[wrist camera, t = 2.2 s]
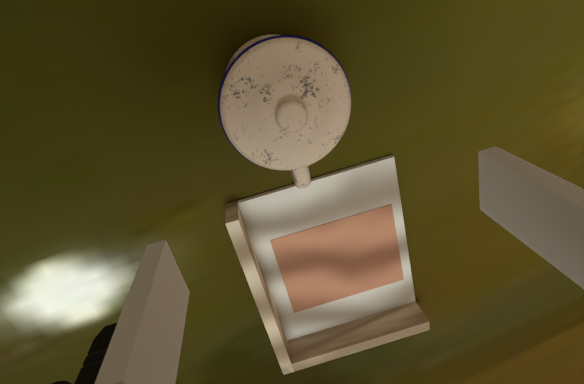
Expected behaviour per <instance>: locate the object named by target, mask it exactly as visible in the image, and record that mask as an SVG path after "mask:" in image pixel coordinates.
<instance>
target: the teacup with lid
mask: <svg viewBox="0 0 584 384" xmlns="http://www.w3.org/2000/svg"><path fill="white" fill-rule="evenodd" d="M350 112H351V90H350V86H349V82H348V79H347V76H346V74H345V71H344V70H343V68H342V66H341V64H340V63H339V62H338V60H337V59H336V58H335V57H334V56H333V54H332V53H330V52H329V51H328V50H327V49H326V48H324V47H323V46H322V45H320V44H318V43H317V42H315V41H312V40H310V39H307V38H304V37H300V36H295V35H277V34H270V35H263V36H259V37H256V38H254V39H252V40H250V41H248V42H247V43H245V44H244V45H243V46H241V47H240V48H239V49H238V50H237V51H236V53H235V54H234V55H233V57H232V58H231V60H230V62H229V64H228V66H227V69H226V72H225V75H224V77H223V79H222V82H221V85H220V90H219V96H218V113H219V118H220V122H221V126H222V128H223V131H224V133H225V135H226V137H227V138H228V140H229V142H230V143H231V144H232V146H233V147H234V148H235V149H236V150H237V151H238V152H239V153H240V154H241V155H242V156H243V157H245V158H246V159H248V160H249V161H251V162H253V163H255V164H257V165H259V166H262V167H265V168H269V169H274V170H291V174H292V177H293V180H294V182H295V185H296V187H298V188H300V189H301V188H305V187H308V186H309V185H310V183H311V179H310V173H309V169H308V165H311V164H313V163H315V162H317V161H319V160H320V159H321V158H323V157H324V156H325V155H327V154H328V153H329V152H330V151H331V150H332V149H333V148H334V147H335V146H336V144H337V143H338V142H339V140H340V139H341V137H342V135H343V134H344V131H345V129H346V127H347V124H348V121H349V117H350Z"/></svg>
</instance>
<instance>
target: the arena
mask: <svg viewBox="0 0 584 384" xmlns="http://www.w3.org/2000/svg"><path fill="white" fill-rule="evenodd" d="M225 224H226V227H227V230H228V232H229V235H230V237H231V240H232V243H233V245H234V248H235V250H236V253H237V255H238V258H239V261H240V263H241V266H242V268H243V271H244V274H245V276H246V279H247V281H248V284H249V287H250V289H251V292H252V294H253V297H254V299H255V302H256V305H257V307H258V310H259V312H260V315H261V318H262V320H263V323H264V325H265V328H266V331H267V333H268V336H269V338H270V341H271V344H272V346H273V349H274V351H275V354H276V356H277V359H278V362H279V364H280V367H281V369H282V372H283V375H285V374H288V373H291V372H294V371H297V370H301V369H304V368H307V367H310V366H314V365H317V364H320V363H323V362H327V361H330V360H333V359H336V358H340V357H343V356H346V355H349V354H353V353H356V352H359V351H362V350H366V349H369V348H372V347H375V346H379V345H382V344H385V343H388V342H391V341H395V340H398V339H401V338H404V337H408V336H411V335H414V334H417V333H421V332H424V331H427V330H430V327H429V321H428V320H427V318H426V317H425V315H424V314H423V312H422V311H421V309H420V307H419V306H418V304H417V303H416V301H415V294H414V288H413V281H412V274H411V267H410V261H409V254H408V247H407V240H406V234H405V227H404V220H403V213H402V207H401V200H400V193H399V186H398V180H397V173H396V166H395V159H394V156H393V155H390V156H386V157H383V158H380V159H376V160H373V161H369V162H366V163H363V164H359V165H356V166H353V167H349V168H346V169H343V170H339V171H336V172H332V173H329V174H326V175H322V176H319V177H316V178H312V179H311V183H310V185H309V186H308V187H305V188H301V189H300V188H298V187H296V185H295V184H292V185H289V186H285V187H282V188H278V189H275V190H272V191H268V192H265V193H262V194H258V195H255V196H251V197H248V198H245V199H241V200H238V201H235V202H231V203H228V204H226V216H225Z"/></svg>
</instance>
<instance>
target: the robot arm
mask: <svg viewBox="0 0 584 384" xmlns="http://www.w3.org/2000/svg"><path fill="white" fill-rule="evenodd" d="M478 163H479V195H480V210H481V211H483V212H484V213H485V214H487V215H488V216H489V217H491V218H492V219H493V220H494V221H496V222H497V223H498V224H500V225H501V226H502V227H504V228H505V229H506V230H507V231H509V232H510V233H511V234H513V235H514V236H515V237H517V238H518V239H519V240H520V241H522V242H523V243H524V244H526V245H527V246H528V247H530V248H531V249H532V250H533V251H535V252H536V253H537V254H539V255H540V256H541V257H543V258H544V259H545V260H546V261H548V262H549V263H550V264H552V265H553V266H554V267H556V268H557V269H558V270H559V271H561V272H562V273H563V274H565V275H566V276H567V277H569V278H570V279H571V280H572V281H574V282H575V283H576V284H578V285H579V286H580V287H582V288H583V289H584V188H580V187H578V186H576V185H574V184H572V183H570V182H568V181H566V180H564V179H562V178H560V177H558V176H556V175H554V174H552V173H550V172H547V171H545V170H543V169H541V168H539V167H537V166H535V165H533V164H531V163H529V162H527V161H525V160H523V159H521V158H519V157H516V156H514V155H512V154H510V153H508V152H506V151H504V150H502V149H500V148H498V147H493V148H489V149H486V150H482V151H478ZM189 293H190V292H189V290H188V288H187V286H186V283H185V281H184V279H183V277H182V275H181V272H180V270H179V268H178V266H177V264H176V261H175V259H174V257H173V255H172V253H171V250H170V248H169V246H168V244H167V242H166V240H163V241H159V242H156V243H152V244H149V245H147V246H146V249H145V252H144V254H143V257H142V259H141V262H140V265H139V267H138V270H137V273H136V275H135V278H134V281H133V283H132V286H131V289H130V291H129V294H128V296H127V299H126V302H125V304H124V307H123V310H122V312H121V315H120V318H119V320H118V323H115V324H112V325H108V326H105V327H104V328H103V329H102V330H101V332H100V333H99V334H98V335H97V336H96V338H95V339H94V340H93V342H92V345H91V347H90V349H89V352H88V356H86V359H85V361H84V363H83V367H82V368H81V370H80V372H79V375H78V377H77V379H76V382H75V384H175V382H176V376H177V370H178V363H179V357H180V351H181V344H182V338H183V332H184V325H185V319H186V312H187V306H188V300H189ZM52 384H71V383H69V382H67V381H57V382H55V383H52Z"/></svg>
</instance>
